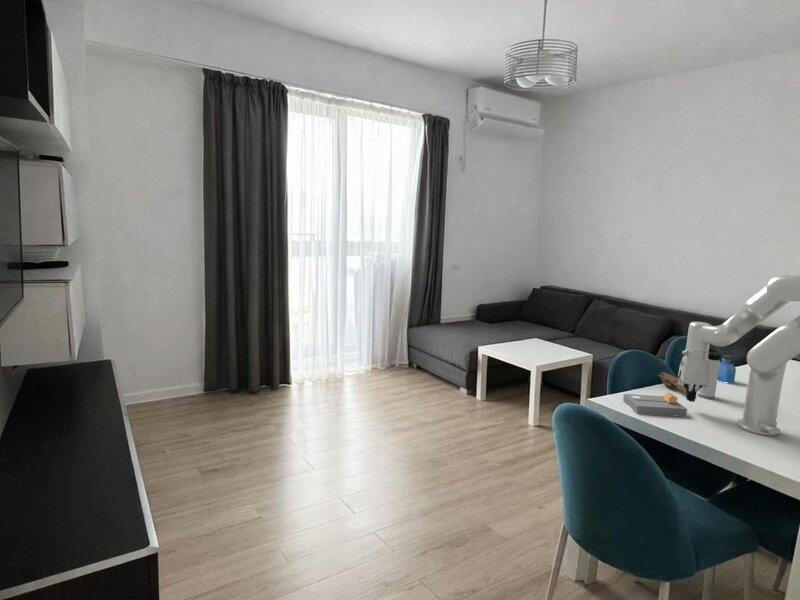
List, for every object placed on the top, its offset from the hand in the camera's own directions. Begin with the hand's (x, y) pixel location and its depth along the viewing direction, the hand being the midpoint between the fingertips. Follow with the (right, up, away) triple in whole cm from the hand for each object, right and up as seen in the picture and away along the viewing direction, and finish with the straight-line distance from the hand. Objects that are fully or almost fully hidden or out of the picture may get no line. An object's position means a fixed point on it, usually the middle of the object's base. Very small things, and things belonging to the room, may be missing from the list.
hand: (690, 400), depth 195 cm
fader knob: (-7, 0, +1) cm, 8 cm away
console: (-14, -3, +1) cm, 14 cm away
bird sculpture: (+8, -1, +29) cm, 30 cm away
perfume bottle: (+41, 0, +45) cm, 61 cm away
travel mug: (+18, -2, +19) cm, 26 cm away
